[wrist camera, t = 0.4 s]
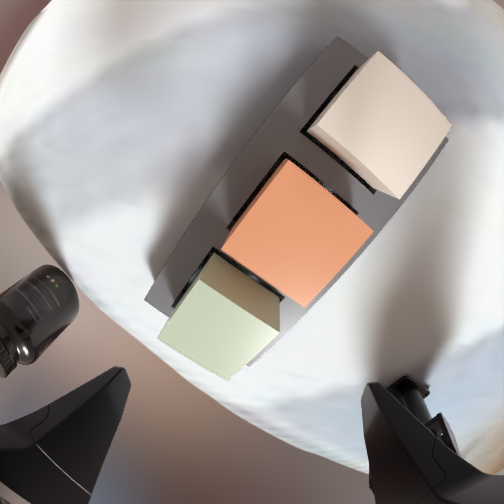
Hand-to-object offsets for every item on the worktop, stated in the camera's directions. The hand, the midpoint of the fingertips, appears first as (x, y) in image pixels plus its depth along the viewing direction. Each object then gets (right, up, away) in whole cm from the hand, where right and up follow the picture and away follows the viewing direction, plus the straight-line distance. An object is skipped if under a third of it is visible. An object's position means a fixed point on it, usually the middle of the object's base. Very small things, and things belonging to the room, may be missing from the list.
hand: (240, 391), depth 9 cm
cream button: (+7, +12, +6) cm, 15 cm away
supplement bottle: (-20, +1, +15) cm, 25 cm away
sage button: (-1, +1, +11) cm, 11 cm away
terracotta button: (+3, +7, +8) cm, 11 cm away
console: (+3, +8, +10) cm, 13 cm away
